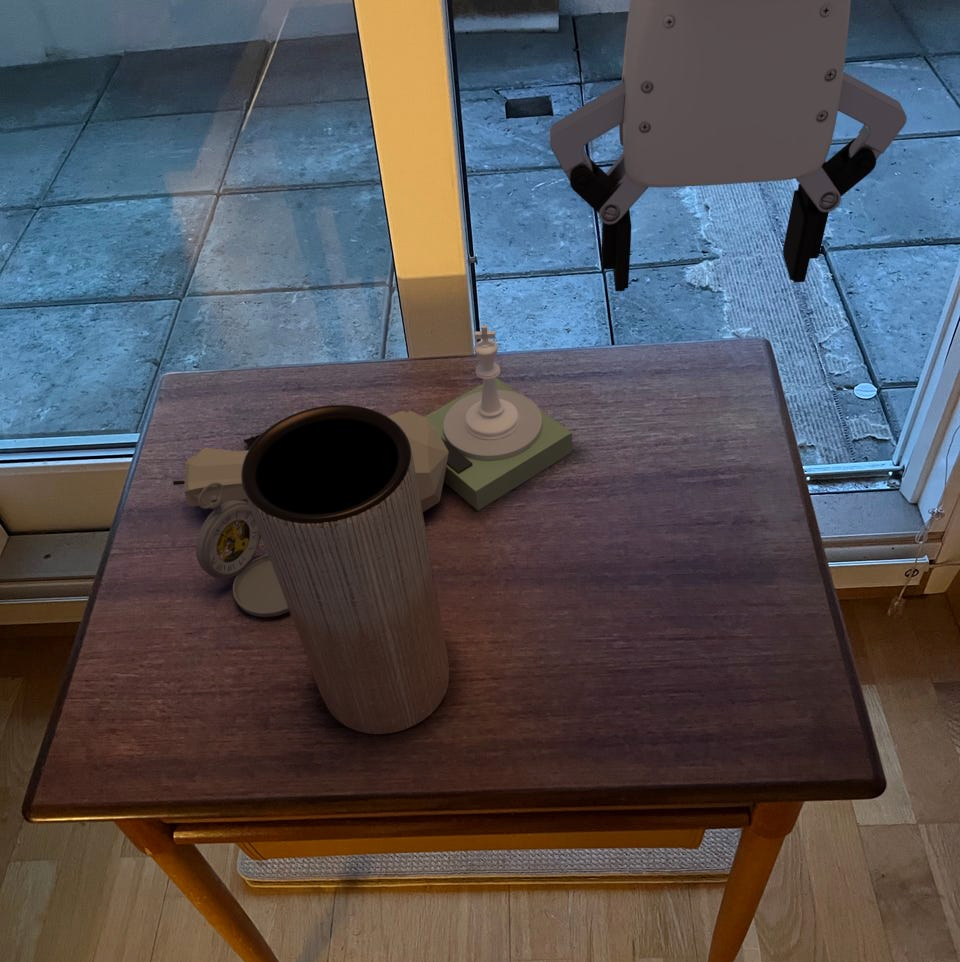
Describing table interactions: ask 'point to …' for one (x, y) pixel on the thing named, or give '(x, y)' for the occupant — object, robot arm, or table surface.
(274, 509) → the planter
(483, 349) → the chess piece
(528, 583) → the table surface
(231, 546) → the pocket watch
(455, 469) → the scale
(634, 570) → the table surface
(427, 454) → the faceted club
